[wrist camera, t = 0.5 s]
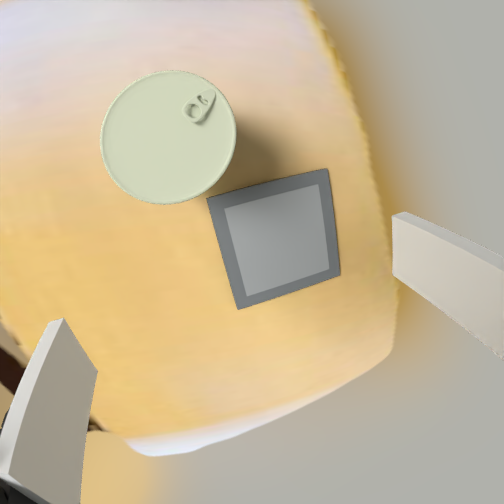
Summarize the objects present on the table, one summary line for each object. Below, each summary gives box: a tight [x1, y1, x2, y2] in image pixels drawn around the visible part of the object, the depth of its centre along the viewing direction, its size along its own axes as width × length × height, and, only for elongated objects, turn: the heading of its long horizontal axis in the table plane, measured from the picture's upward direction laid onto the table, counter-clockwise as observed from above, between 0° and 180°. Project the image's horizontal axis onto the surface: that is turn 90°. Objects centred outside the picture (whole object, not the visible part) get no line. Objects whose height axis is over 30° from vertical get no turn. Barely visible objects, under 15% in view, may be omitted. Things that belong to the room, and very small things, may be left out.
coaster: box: [206, 169, 340, 310], centre depth 34 cm, size 14×14×1 cm
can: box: [100, 70, 236, 205], centre depth 22 cm, size 9×9×12 cm
